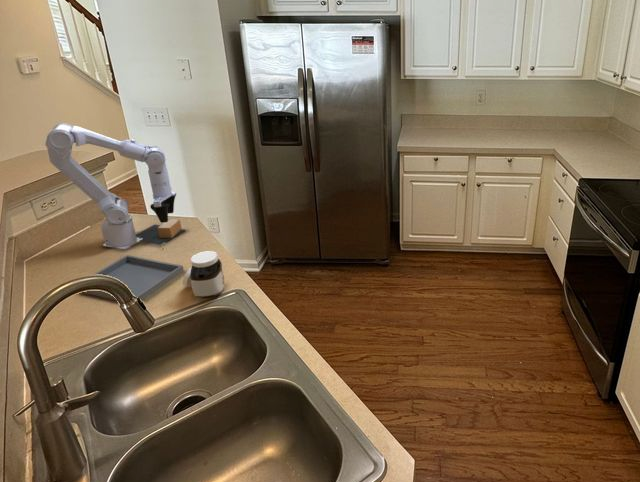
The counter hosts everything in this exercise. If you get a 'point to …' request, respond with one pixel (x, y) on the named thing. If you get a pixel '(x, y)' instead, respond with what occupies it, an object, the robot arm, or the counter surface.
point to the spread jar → (205, 275)
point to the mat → (155, 235)
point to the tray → (140, 275)
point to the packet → (169, 228)
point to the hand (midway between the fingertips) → (167, 217)
